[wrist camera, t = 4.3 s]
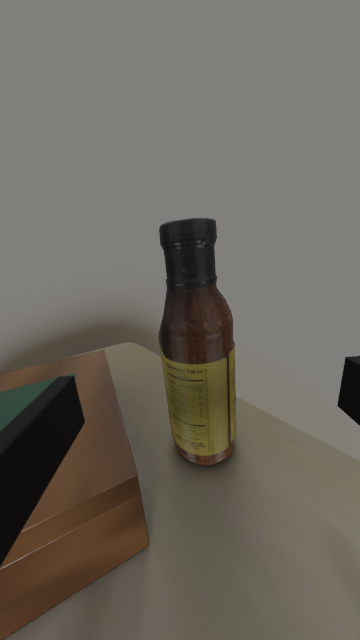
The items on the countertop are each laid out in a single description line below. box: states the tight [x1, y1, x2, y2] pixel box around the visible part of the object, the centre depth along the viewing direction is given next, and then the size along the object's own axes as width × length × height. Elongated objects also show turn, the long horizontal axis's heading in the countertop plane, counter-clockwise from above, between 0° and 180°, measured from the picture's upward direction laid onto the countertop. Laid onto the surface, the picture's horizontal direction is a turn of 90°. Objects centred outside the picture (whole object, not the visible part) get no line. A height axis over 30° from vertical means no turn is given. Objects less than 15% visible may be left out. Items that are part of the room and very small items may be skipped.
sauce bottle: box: [159, 218, 236, 466], centre depth 17 cm, size 7×6×20 cm
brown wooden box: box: [0, 350, 149, 640], centre depth 18 cm, size 14×20×8 cm
